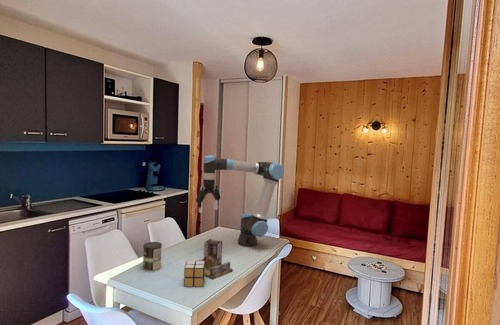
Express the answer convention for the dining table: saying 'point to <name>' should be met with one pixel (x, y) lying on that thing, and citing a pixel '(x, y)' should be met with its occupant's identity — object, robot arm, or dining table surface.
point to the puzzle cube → (194, 274)
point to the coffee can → (152, 256)
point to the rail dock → (207, 273)
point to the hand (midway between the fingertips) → (208, 211)
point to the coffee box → (212, 253)
